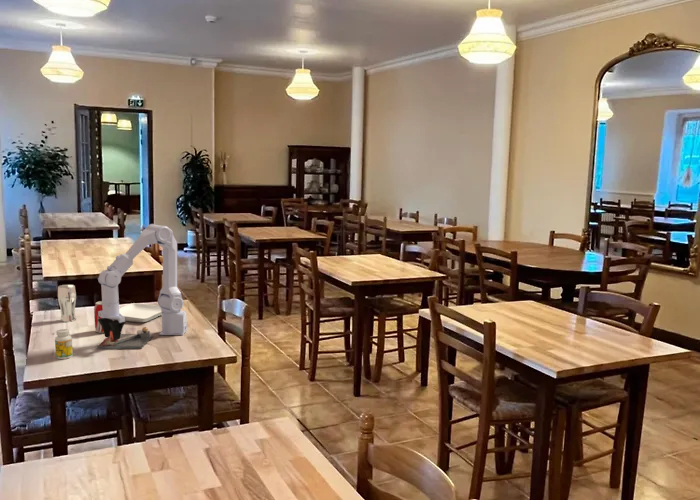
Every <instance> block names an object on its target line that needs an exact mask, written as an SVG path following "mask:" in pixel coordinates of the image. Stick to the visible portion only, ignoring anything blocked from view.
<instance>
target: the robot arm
mask: <svg viewBox="0 0 700 500" xmlns="http://www.w3.org/2000/svg"><path fill="white" fill-rule="evenodd" d="M155 244H157V245H158V246H160V247H161V248H162V287H161V289H160V290H159V296H158V299H157V305H158V306H160V307H161V331H160V332H159V333H158V335H159V336H182V335H185V333H186V332H187V331H188V326H187V325H188V321H187V312H186V311H185V310H182V309H183V307H184V299H183V297H182V292H181V291H180V288H178V242H177V240H176V238H175V236H174V231H173V230H172V229H171V228H170V227H168V226H167V225H160V224H155V223H150V224H148V225H147V226H146V227H145V229H143V230H142V231H141V234H140V235H139V237H137V239H136V240H135V242H133V244H132V245H131V247H130V248H129V249H127V251H126V253H121V254H119V255H116V256H115V260H113V262H112V263H111V264H110V265H109V266H107V267H106V269H105V270H102V271H101V272H100V273H99V275H98V277H97V280H98V283H99V284H100V286H101V301H102V307H103V311H98V316H99V317H100V318H101V319H98V321H99V323H100V324H101V326H102V329H103V332H104V333H103V334H104V337H105V338H107V337H110V330H112V334H113V339H114V340H118V339H120V335H121V334H122V330H123V328H124V325H125V324H126V321H125V317H124V316H122V315H121V314H120V313H119V308H120V301H119V300H120V298H119V284H121V282H122V277H123V276H124V275H125V274H126V272H127V271H128V270H129V269H131V267H132V266H133V264H134V263H133V262H134V259H135V258H136V257H137V256H138V255H139V254H140V253H141V252H142V251H143V250H145V248H146V247H147V246H149V245H155ZM113 320H114V321H113Z"/></svg>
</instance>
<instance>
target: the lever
mask: <svg viewBox="0 0 700 500" xmlns="http://www.w3.org/2000/svg"><path fill="white" fill-rule="evenodd" d="M148 331H149V334H151V332H150V330H148ZM142 332H143V331H142V329H141V330H137V331H136V333H132V334H133V335H130V336H126V337H123V338H120V339H118V340H114V339H113V334H112V330H110V342H113V343H115V344H117V343H120V342H123V341H127V340H130V339H133V338H137V337H141V333H142Z"/></svg>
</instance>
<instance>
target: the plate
mask: <svg viewBox="0 0 700 500" xmlns="http://www.w3.org/2000/svg"><path fill="white" fill-rule="evenodd" d="M141 330H142V331H143V332H142V333H141V337H137V338H133V339H130V340H127V341H123V342H120V343H117V344H115V343H113V342H110V337H105V338H103V341H101V342H100V343H98V345H97V346H96V350H127V349H128V350H142V349H143V348H144V347H145V346H146V345H147V344H148V342H149V341H150V340H151V339H153V337H154V334H153V333H150V334H149V331H150V330H149V329H148V328H147V327H146V326H145V327H142V329H141ZM133 334H134V333H121V335H120V338H123V337H126V336H130V335H133Z"/></svg>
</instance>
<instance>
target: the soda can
mask: <svg viewBox="0 0 700 500" xmlns="http://www.w3.org/2000/svg"><path fill="white" fill-rule="evenodd" d="M98 311H103V307H102V300H99V301H97V302H95V305H94V306H93V314H94V329H95V332H97V333H99V334H104V332H103V329H102V326H101V324H100V323H99V321H98V319H101V318H100V317H99V316H98ZM113 321H114V320H113Z"/></svg>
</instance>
